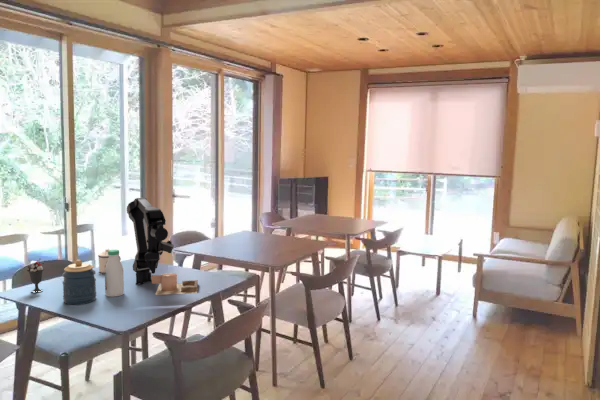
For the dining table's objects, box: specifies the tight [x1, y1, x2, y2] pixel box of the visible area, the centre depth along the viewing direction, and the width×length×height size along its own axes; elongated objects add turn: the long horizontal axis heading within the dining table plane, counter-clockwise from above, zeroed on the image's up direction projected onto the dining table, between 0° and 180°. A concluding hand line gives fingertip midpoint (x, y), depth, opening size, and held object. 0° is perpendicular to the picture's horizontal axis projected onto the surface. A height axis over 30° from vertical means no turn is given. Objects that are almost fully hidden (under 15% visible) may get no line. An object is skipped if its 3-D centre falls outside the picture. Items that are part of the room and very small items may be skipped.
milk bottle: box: [104, 249, 125, 298], centre depth 212 cm, size 8×8×20 cm
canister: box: [62, 259, 97, 305], centre depth 204 cm, size 13×13×18 cm
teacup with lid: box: [97, 248, 122, 274], centre depth 252 cm, size 12×9×12 cm
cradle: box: [155, 279, 199, 296], centre depth 220 cm, size 18×16×3 cm
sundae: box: [26, 259, 45, 292], centre depth 215 cm, size 7×7×15 cm
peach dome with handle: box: [151, 272, 178, 291], centre depth 219 cm, size 11×7×6 cm, turn 100°
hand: (154, 270), depth 217 cm, fingers open, 9 cm apart
